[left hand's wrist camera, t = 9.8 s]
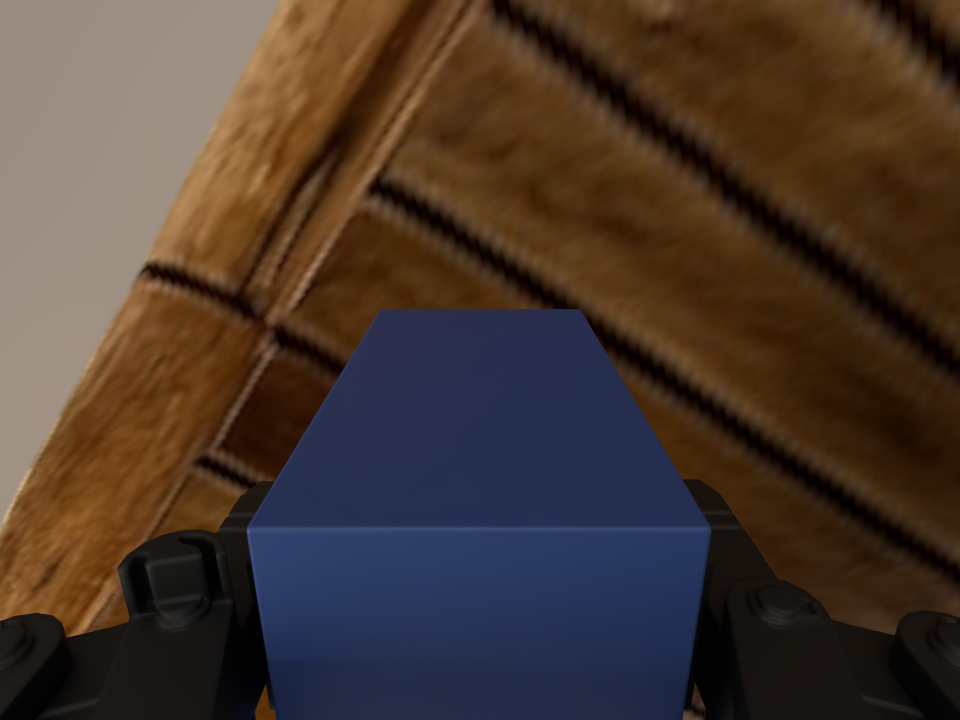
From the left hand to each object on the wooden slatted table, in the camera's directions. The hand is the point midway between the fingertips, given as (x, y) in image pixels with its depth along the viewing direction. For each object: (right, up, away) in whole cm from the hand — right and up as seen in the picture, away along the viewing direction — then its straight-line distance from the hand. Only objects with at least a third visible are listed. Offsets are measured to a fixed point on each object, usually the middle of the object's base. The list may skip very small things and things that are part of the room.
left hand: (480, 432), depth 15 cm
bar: (0, -8, +4) cm, 8 cm away
